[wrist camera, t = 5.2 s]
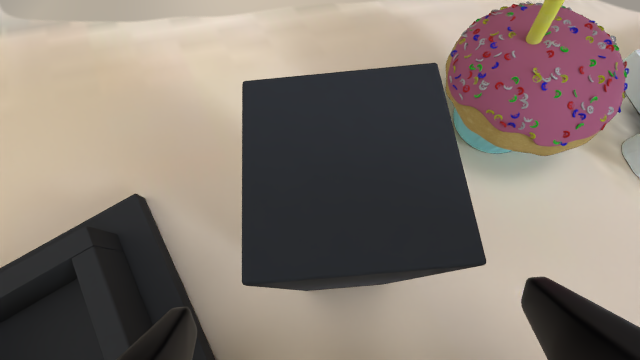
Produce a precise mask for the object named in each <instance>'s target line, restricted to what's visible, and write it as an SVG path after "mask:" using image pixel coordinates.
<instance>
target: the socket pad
mask: <svg viewBox="0 0 640 360" xmlns="http://www.w3.org/2000/svg"><path fill="white" fill-rule="evenodd" d="M177 307H188V308H189V309H190V311H191V313H192V316H193V319H194V322H195V324H196V327H197V338H196V343H195V348H194V353H193V358H192V360H215V358H214V355H213V353H212V351H211V348H210V346H209V344H208V342H207V339H206V337H205V335H204V333H203V330H202V328H201V326H200V323H199V321H198V319H197V317H196V314H195V312H194V310H193V308H192V305H191V303H190V301H189V298H188V296H187V294H186V292H185V289H184V287H183V285H182V283H181V280H180V278H179V276H178V274H177V271H176V269H175V267H174V264H173V262H172V260H171V258H170V255H169V253H168V251H167V249H166V246H165V244H164V242H163V239H162V237H161V235H160V233H159V230H158V228H157V226H156V224H155V221H154V219H153V217H152V214H151V212H150V210H149V208H148V205H147V203H146V201H145V199H144V198H143V197H141V196H139V195H137V194H134V195H132V196H130V197H128V198H126V199H125V200H123V201H121V202H119V203H117V204H116V205H114V206H112V207H110V208H108V209H107V210H105V211H103V212H101V213H99V214H98V215H96V216H94V217H92V218H90V219H88V220H87V221H85V222H83V223H81V224H79V225H78V226H76V227H74V228H72V229H70V230H69V231H67V232H65V233H63V234H61V235H60V236H58V237H56V238H54V239H52V240H51V241H49V242H47V243H45V244H43V245H42V246H40V247H38V248H36V249H34V250H33V251H31V252H29V253H27V254H25V255H23V256H22V257H20V258H18V259H16V260H14V261H13V262H11V263H9V264H7V265H5V266H4V267H2V268H0V360H116V359H117V358H119V357H120V356H121V355H122V354H123V353H124V352H125V351H126V350H127V349H128V348H129V347H130V346H132V345H133V344H134V343H135V342H136V341H137V340H138V339H139V338H140V337H141V336H142V335H143V334H144V333H146V332H147V331H148V330H149V329H150V328H151V327H152V326H153V325H154V324H155V323H156V322H157V321H159V320H160V319H161V318H162V317H163V316H164V315H165V314H166V313H167V312H168V311H169V310H171V309H172V308H177Z"/></svg>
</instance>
